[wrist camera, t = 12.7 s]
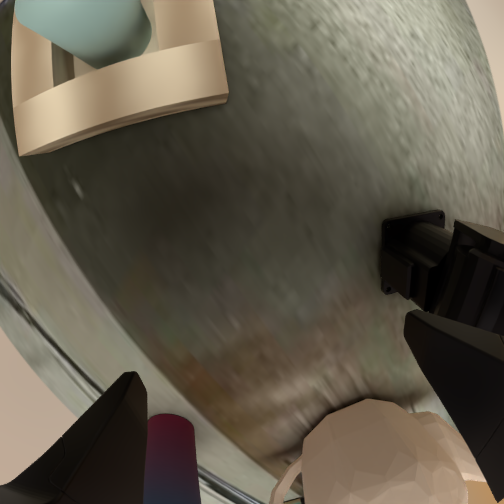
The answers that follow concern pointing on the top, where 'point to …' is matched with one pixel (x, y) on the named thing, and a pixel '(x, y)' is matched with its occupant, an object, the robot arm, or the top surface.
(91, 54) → the peg
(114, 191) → the top surface
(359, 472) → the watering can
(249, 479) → the top surface
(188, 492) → the cup
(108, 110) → the socket
